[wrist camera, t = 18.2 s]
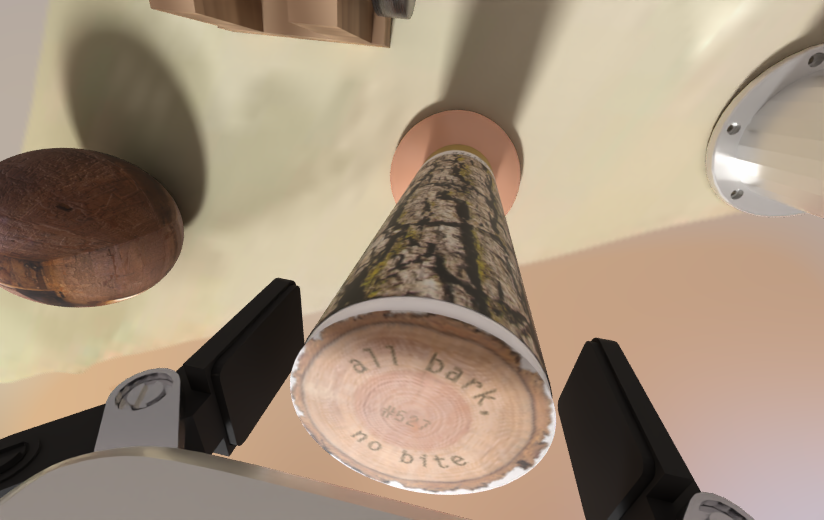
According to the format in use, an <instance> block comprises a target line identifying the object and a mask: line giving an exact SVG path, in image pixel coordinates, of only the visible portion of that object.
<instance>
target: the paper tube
mask: <svg viewBox="0 0 824 520" xmlns="http://www.w3.org/2000/svg"><path fill="white" fill-rule="evenodd" d="M290 390H291V397H292V401H293V405H294V408H295V410H296V413H297V415H298V417H299V419H300V421H301V423H302V424H303V426H304V427H305V428H306V430H307V431H308V433H309V434H310V435H311V436H312V438H313V439H314V440H315V441H316V442H317V443H318V444H319V445H320V446H321V447H322V448H323V449H324V450H325V451H327V452H328V453H329V454H330V455H331V456H333V457H334V458H335V459H337V460H338V461H340V462H341V463H343V464H344V465H346V466H347V467H349V468H351V469H353V470H354V471H356V472H358V473H360V474H362V475H364V476H366V477H369V478H371V479H373V480H376V481H378V482H381V483H384V484H387V485H390V486H393V487H397V488H401V489H405V490H409V491H415V492H420V493H429V494H443V495H445V494H446V495H447V494H448V495H454V494H468V493H476V492H481V491H486V490H490V489H493V488H497V487H500V486H503V485H505V484H507V483H510V482H512V481H514V480H516V479H518V478H520V477H521V476H523V475H524V474H526V473H527V472H529V471H530V470H531V469H532V468H534V467H535V466H536V465H537V464H538V463H539V462H540V460H541V459H542V458H543V457H544V455H545V454H546V452H547V451H548V449H549V447H550V445H551V443H552V440H553V437H554V433H555V427H556V412H555V408H554V403H553V400H552V392H551V386H550V382H549V378H548V375H547V371H546V367H545V363H544V360H543V356H542V352H541V348H540V345H539V341H538V337H537V334H536V330H535V326H534V322H533V319H532V315H531V311H530V308H529V304H528V300H527V296H526V292H525V289H524V285H523V281H522V278H521V274H520V270H519V266H518V263H517V259H516V255H515V251H514V248H513V244H512V240H511V237H510V233H509V229H508V225H507V222H506V218H505V214H504V210H503V207H502V203H501V199H500V196H499V192H498V188H497V184H496V182H495V177H494V174H493V171H492V168H491V165H490V163H489V162H488V160H487V159H486V157H485V156H484V155H483V154H482V153H481V152H479V151H478V150H476V149H474V148H472V147H470V146H467V145H461V144H453V145H447V146H444V147H442V148H440V149H438V150H436V151H435V152H433V153H432V154H431V155H430V156H429V157H428V158H427V160H426V161H425V162H424V164H423V165H422V167H421V168H420V169H419V171H418V172H417V174H416V176H415V177H414V179H413V180H412V182H411V183H410V185H409V186H408V188H407V189H406V191H405V192H404V194H403V195H402V197H401V198H400V200H399V201H398V203H397V204H396V206H395V207H394V209H393V210H392V212H391V213H390V215H389V216H388V218H387V219H386V221H385V222H384V224H383V225H382V227H381V228H380V230H379V231H378V233H377V234H376V236H375V237H374V239H373V240H372V242H371V243H370V245H369V246H368V248H367V249H366V251H365V252H364V254H363V255H362V257H361V258H360V260H359V261H358V263H357V264H356V266H355V267H354V269H353V270H352V272H351V273H350V275H349V276H348V278H347V279H346V281H345V282H344V284H343V285H342V287H341V288H340V290H339V291H338V293H337V294H336V296H335V297H334V299H333V300H332V302H331V303H330V305H329V306H328V308H327V309H326V311H325V312H324V314H323V315H322V317H321V319H320V320H319V322H318V323H317V324H316V326H315V328H314V329H313V330H312V332H311V333H310V335H309V336H308V338H307V340H306V342H305V343H304V345H303V348H302V349H301V351H300V352H299V354H298V356H297V358H296V360H295V362H294V365H293V368H292V373H291V377H290Z"/></svg>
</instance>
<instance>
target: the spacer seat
mask: <svg viewBox="0 0 824 520" xmlns="http://www.w3.org/2000/svg"><path fill="white" fill-rule="evenodd" d="M453 144H461V145H467V146H470V147H472V148H474V149H476V150H478V151H479V152H481V153H482V154H483V155H484V156H485V157H486V159H487V160H488V162H489V163H490V165H491V168H492V171H493V174H494V177H495V182H496V184H497V188H498V192H499V196H500V199H501V203H502V207H503V210H504V214H505V215H506V214H507V213H508V212H509V210H510V208H511V207H512V205H513V203H514V201H515V199H516V196H517V193H518V190H519V184H520V163H519V159H518V155H517V152H516V149H515V147H514V145H513V143H512V141H511V140H510V138H509V137H508V136H507V134H506V133H505V132H504V130H503V129H501V128H500V127H499V126H498V125H497V124H496V123H495V122H493V121H492V120H491V119H489V118H487V117H485V116H483V115H481V114H478V113H475V112H471V111H466V110H449V111H443V112H439V113H436V114H434V115H431V116H429V117H427V118H425V119H424V120H422V121H420V122H419V123H418V124H416V125H415V126H414V127H412V128H411V129H410V130H409V131H408V132H407V134H406V135H405V136H404V137H403V139H402V140H401V142H400V143H399V145H398V147H397V149H396V151H395V154H394V157H393V160H392V164H391V172H390V182H391V189H392V193H393V197H394V199H395V202H396V204H397V203H398V201H399V200H400V198H401V197H402V195H403V194H404V192H405V191H406V189H407V188H408V186H409V185H410V183H411V182H412V180H413V179H414V177H415V176H416V174H417V172H418V171H419V169H420V168H421V167H422V165H423V164H424V162H425V161H426V160H427V158H428V157H429V156H430V155H431V154H432V153H433V152H435V151H436V150H438V149H440V148H442V147H444V146H447V145H453Z"/></svg>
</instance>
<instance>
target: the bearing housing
mask: <svg viewBox="0 0 824 520" xmlns="http://www.w3.org/2000/svg"><path fill="white" fill-rule="evenodd" d="M149 2H150V6H151V8H152V9H155V10H159V11H163V12H167V13H171V14H174V15H178V16H182V17H186V18H190V19H194V20H197V21H201V22H205V23H209V24H213V25H217V26H218V28H221V29H225V30H229V31H233V32H242V33H252V34H261V35H271V36H281V37H290V38H300V39H310V40H319V41H329V42H338V43H348V44H358V45H367V46H377V47H387V48H390V32H391V18H390V17H379V16H377V14H376V13H375V11H374V8H373V5H372V1H371V0H149Z"/></svg>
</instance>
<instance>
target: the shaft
mask: <svg viewBox="0 0 824 520" xmlns="http://www.w3.org/2000/svg"><path fill="white" fill-rule="evenodd" d="M371 1H372V5H373V8H374V11H375V13H376V14H377V16H379V17H390V18H400V19H410V18H411V16H412V14H413V11H414V6H415V1H416V0H371Z"/></svg>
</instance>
